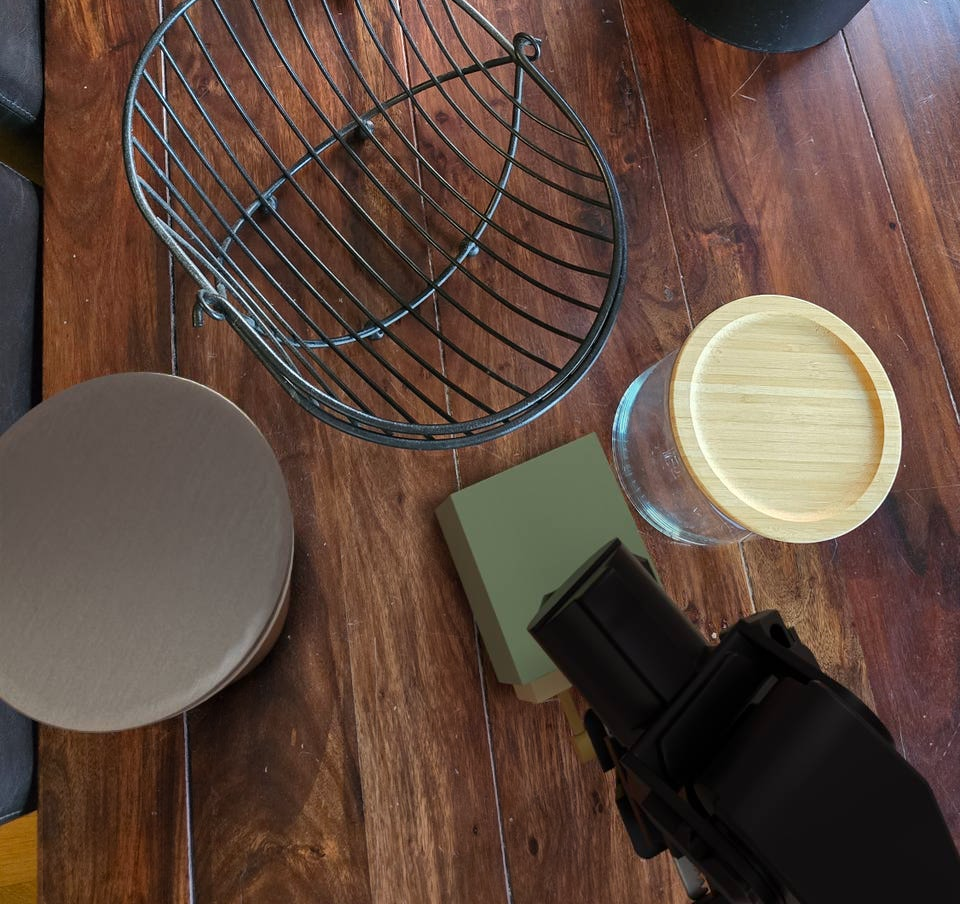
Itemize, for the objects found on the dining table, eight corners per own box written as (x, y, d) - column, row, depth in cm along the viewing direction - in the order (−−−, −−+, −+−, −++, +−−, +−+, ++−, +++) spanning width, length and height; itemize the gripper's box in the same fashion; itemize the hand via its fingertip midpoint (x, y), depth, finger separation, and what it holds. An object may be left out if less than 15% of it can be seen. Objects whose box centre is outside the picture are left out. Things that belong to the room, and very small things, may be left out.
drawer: (668, 704, 70) (700, 709, 64) (544, 770, 67) (567, 780, 62) (576, 487, 75) (599, 474, 69) (458, 540, 72) (472, 531, 67)
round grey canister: (174, 479, 72) (67, 316, 37) (319, 549, 72) (350, 450, 36) (86, 646, 67) (-134, 641, 32) (241, 723, 67) (189, 802, 32)
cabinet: (636, 614, 72) (673, 610, 65) (499, 682, 70) (522, 686, 62) (566, 452, 76) (595, 431, 69) (434, 510, 74) (449, 494, 66)
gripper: (969, 913, 50) (825, 862, 64) (762, 495, 57) (672, 529, 71) (758, 1053, 47) (653, 967, 60) (566, 590, 54) (511, 606, 68)
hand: (626, 751), depth 65 cm, fingers closed
